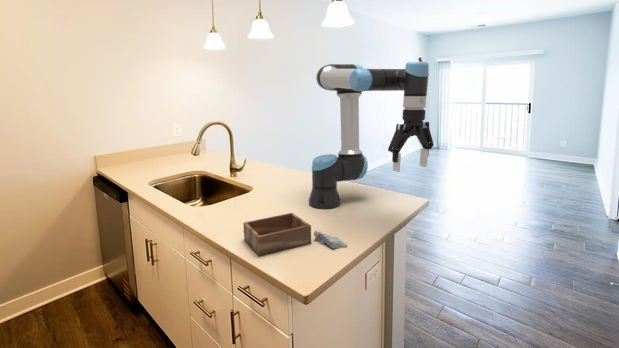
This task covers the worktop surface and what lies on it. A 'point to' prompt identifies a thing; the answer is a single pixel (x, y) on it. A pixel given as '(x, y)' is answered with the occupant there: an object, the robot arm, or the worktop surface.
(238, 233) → the worktop surface
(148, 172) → the worktop surface
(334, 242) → the mineral specimen
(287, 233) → the walnut well
